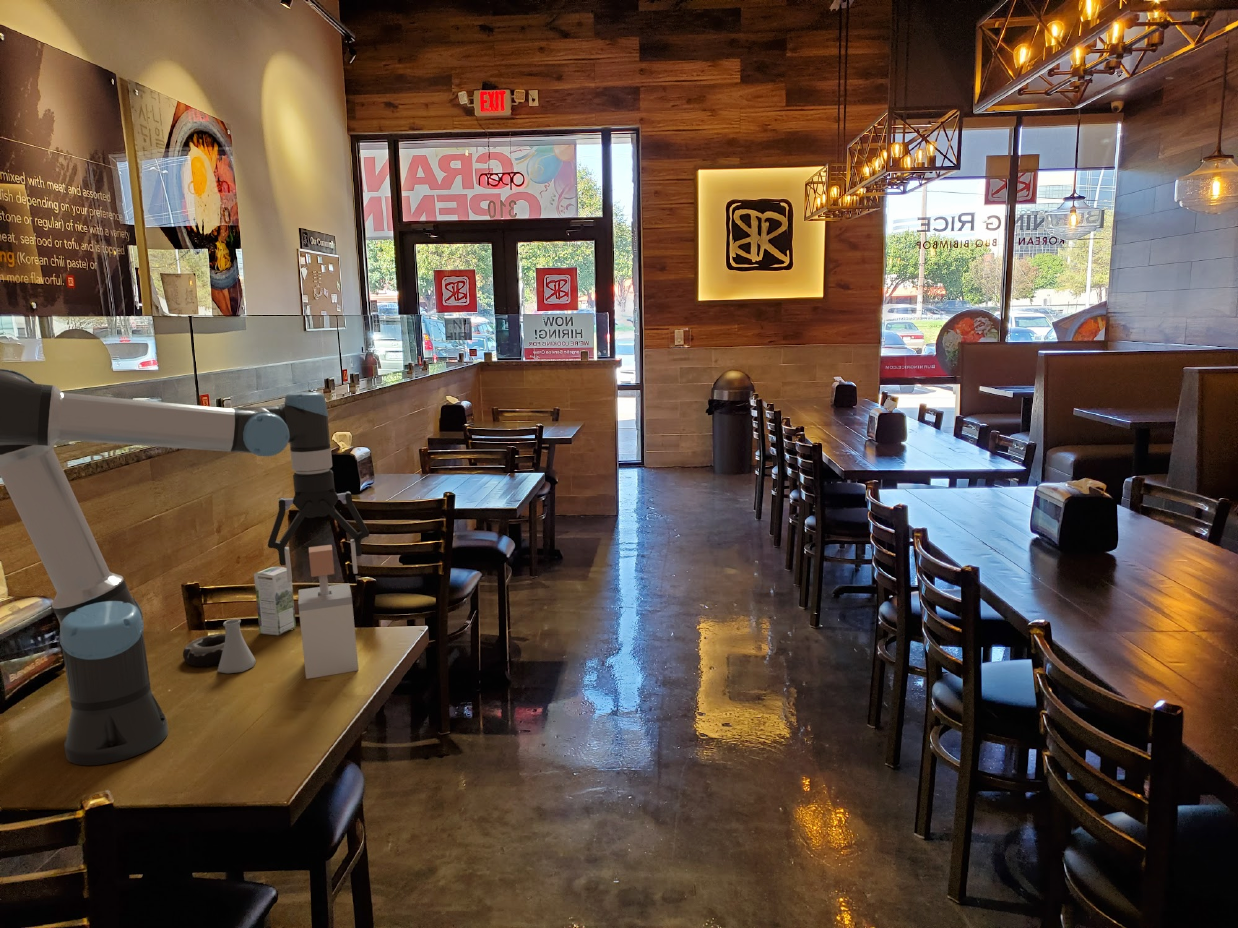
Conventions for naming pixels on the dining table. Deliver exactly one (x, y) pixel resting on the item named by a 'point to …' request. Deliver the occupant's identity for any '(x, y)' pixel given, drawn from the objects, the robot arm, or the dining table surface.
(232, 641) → the flask
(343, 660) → the slotted white box
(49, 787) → the dining table surface
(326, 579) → the pump plunger
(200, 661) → the donut
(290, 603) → the syrup box
